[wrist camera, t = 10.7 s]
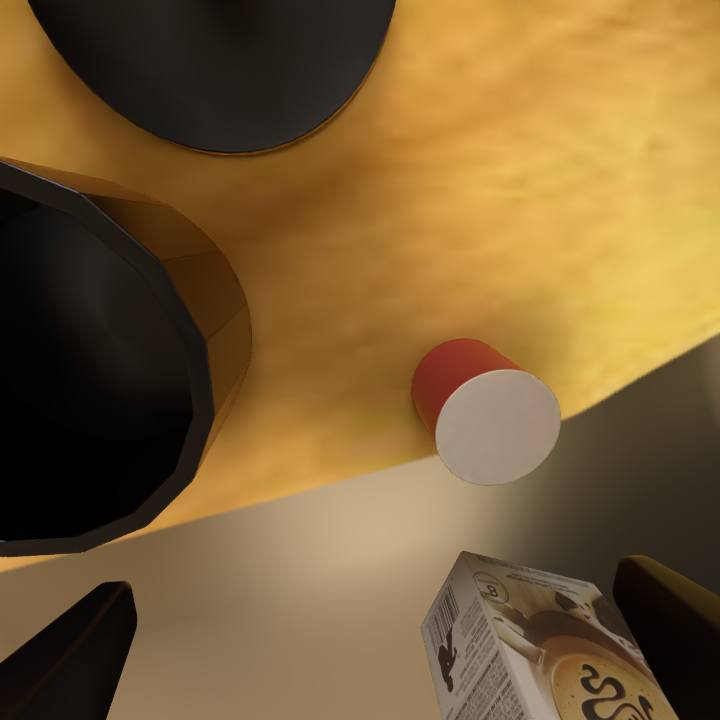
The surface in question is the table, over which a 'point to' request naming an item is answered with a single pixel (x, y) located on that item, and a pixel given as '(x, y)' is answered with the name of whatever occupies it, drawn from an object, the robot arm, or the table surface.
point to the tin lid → (220, 64)
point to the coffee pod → (484, 412)
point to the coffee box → (533, 649)
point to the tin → (106, 357)
